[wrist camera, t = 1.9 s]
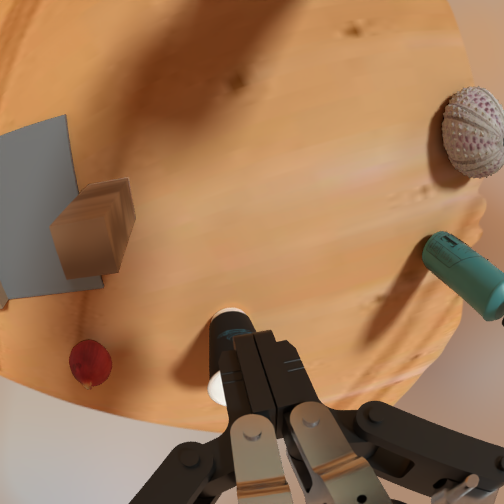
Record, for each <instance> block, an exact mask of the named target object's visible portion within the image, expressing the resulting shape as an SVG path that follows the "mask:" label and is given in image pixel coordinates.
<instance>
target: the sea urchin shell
mask: <svg viewBox="0 0 504 504" xmlns="http://www.w3.org/2000/svg"><path fill="white" fill-rule="evenodd" d="M449 102H450V103H449V105H447V106H446V107H445V112H444V113H443V116H444V121H443V122H442V129H441V130H442V131H443V134H442V136H443V142H444V145H443V146H444V147H445V150H446V151H447V154H448V155H449V158H448V159H450V163H452V166H454V167H455V169H457V170H459V172H462V173H463V175H467V176H468V177H469V178H470V177H473V178H482V177H486V178H487V177H488V176H489V175H490V176H491V175H492V174H494V173H496V172H497V171H498V170H500V169H501V167H502V166H503V165H504V110H503V108H502V105H501V104H499V102H498V100H497V99H495V97H494V96H493V94H491V93H490V91H489V90H486V89H485V88H480V87H479V86H478V87H473V88H472V87H468V88H463V89H462V90H461V91H460V92H459V91H457V93H456V94H455V95H452V99H451V100H449Z"/></svg>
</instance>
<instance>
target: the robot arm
mask: <svg viewBox="0 0 504 504" xmlns="http://www.w3.org/2000/svg"><path fill="white" fill-rule="evenodd" d="M233 345H234V350H229V351H223V352H222V353H221V356H220V359H219V362H218V364H219V369H220V375H221V380H222V386H223V391H224V396H225V401H226V406H227V411H228V416H229V423H228V427H227V429H226V430H225V432H224V433H223V434H222V435H221V436H219V437H218V438H216V439H214V440H212V441H209V442H207V443H205V444H201V443H197V442H185V443H182V444H179V445H177V446H176V447H175V448H174V449H173V450H172V451H171V452H170V454H169V455H168V456H167V457H166V459H165V460H164V461H163V463H162V464H161V465H160V466H159V468H158V469H157V470H156V471H155V472H154V474H153V475H152V476H151V478H150V479H149V480H148V481H147V482H146V483H145V485H144V486H143V487H142V489H141V490H140V491H139V492H138V493H137V494H136V496H135V497H134V498H133V499H132V500H131V501H130V503H129V504H215V503H216V501H217V500H218V498H219V497H220V495H221V493H222V492H224V491H226V490H228V489H231V488H233V487H235V486H237V497H238V504H293V500H292V496H291V491H290V488H289V485H288V483H287V481H286V479H285V475H284V471H283V467H282V462H281V458H280V453H279V449H278V444H277V440H276V439H280V438H284V441H285V444H286V447H287V448H286V455H287V457H288V459H289V462H290V464H291V466H292V469H293V471H294V473H295V475H296V478H297V480H298V482H299V484H300V487H301V489H302V491H303V493H304V496H305V502H306V504H406V503H404V502H401V501H398V500H394V499H390V498H389V496H388V494H387V493H386V491H385V489H384V488H383V486H382V484H381V482H380V481H379V479H378V477H381V478H383V479H385V480H388V481H390V482H392V483H395V484H397V485H400V486H403V487H405V488H407V489H410V490H412V491H415V492H418V493H420V494H423V495H426V496H429V497H432V499H431V504H494V502H495V499H496V496H497V493H498V490H499V488H500V487H502V486H503V485H504V448H503V447H500V446H497V445H494V444H491V443H488V442H485V441H482V440H479V439H476V438H473V437H470V436H467V435H464V434H462V433H459V432H456V431H453V430H450V429H448V428H445V427H443V426H440V425H437V424H435V423H432V422H429V421H427V420H425V419H422V418H419V417H417V416H415V415H412V414H410V413H407V412H405V411H402V410H400V409H398V408H395V407H393V406H391V405H388V404H386V403H384V402H381V401H370V402H367V403H365V404H363V405H362V406H361V407H360V408H359V409H358V410H334V409H331V408H329V407H327V406H325V405H324V404H323V403H321V401H320V400H319V399H318V397H317V395H316V392H315V390H314V388H313V386H312V383H311V381H310V379H309V377H308V375H307V372H306V370H305V369H304V366H303V363H302V361H301V360H300V357H299V355H298V352H297V350H296V348H295V347H294V346H293V345H291V344H290V343H289V342H288V341H287V340H284V341H279V342H276V340H275V337H274V335H273V332H272V331H271V330H266V331H261V332H255V333H252V334H251V333H250V334H244V335H238V336H233ZM377 476H378V477H377Z"/></svg>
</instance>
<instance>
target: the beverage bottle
mask: <svg viewBox="0 0 504 504" xmlns="http://www.w3.org/2000/svg"><path fill="white" fill-rule="evenodd" d="M465 244H466V243H465ZM465 244H464V242H463V241H461V240H460V239H458V238H456V236H454V235H452V234H449V233H447V232H444V231H440V232H437V233H435V234H434V235H432V236H431V237H430V239H429V240H428V241H427V243H426V245H425V247H424V249H423V253H422V260H423V263H424V265H425V266H426V267H427V268H428V269H429V270H430V271H432V272H433V273H434V274H435V275H436V276H437V277H438V279H440V280H442V281H443V282H444V283H445V284H447V285H448V286H449V288H451V289H452V290H453V291H455V292H456V293H457V294H458V295H460V296H461V297H462V298H463V299H464V300H465V301H466V302H467V303H468V304H469V305H471V306H472V307H473V308H474V309H475V310H476V311H477V312H478V313H479V314H480V315H481V316H482V317H483V318H484V320H486V321H493V320H497V319H500V318H501V317H502V316H503V315H504V273H503V272H502V271H500V270H499V269H498V268H497V267H495V266H494V265H493V264H491V263H490V262H489V261H488V259H487V260H486V259H485V258H484V257H482V256H481V255H479V254H478V253H477V252H476V251H474V250H472V249H471V247H468V246H467V244H466V245H465ZM447 285H446V286H447ZM502 325H503V326H504V318H503V320H502Z"/></svg>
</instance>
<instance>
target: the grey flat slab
mask: <svg viewBox="0 0 504 504" xmlns="http://www.w3.org/2000/svg"><path fill="white" fill-rule="evenodd" d="M78 194H79V191H78V186H77V181H76V176H75V171H74V166H73V160H72V154H71V148H70V141H69V134H68V127H67V119H66V115H62V116H58V117H55V118H51V119H48V120H45V121H42V122H38V123H35V124H32V125H29V126H26V127H23V128H20V129H18V130H15V131H12V132H9V133H7V134H4V135H1V136H0V309H3V307H4V306H5V304H6V302H7V301H8V299H15V298H24V297H33V296H41V295H50V294H58V293H67V292H75V291H83V290H91V289H99V288H104V284H103V281H102V278H101V275H99V276H91V277H84V278H76V279H69V280H66V277H65V274H64V271H63V269H62V266H61V263H60V260H59V257H58V254H57V251H56V248H55V245H54V241H53V238H52V235H51V231H50V228H49V226H50V225H51V224H52V223H53V222H54V221H55V219H56V218H57V217H58V216H59V215H60V214H61V213H62V212H63V211H64V209H65V208H66V207H67V206H68V205H69V204H70V203H71V202H72V201H73V200H74V199H75V198H76V197H77V196H78Z"/></svg>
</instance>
